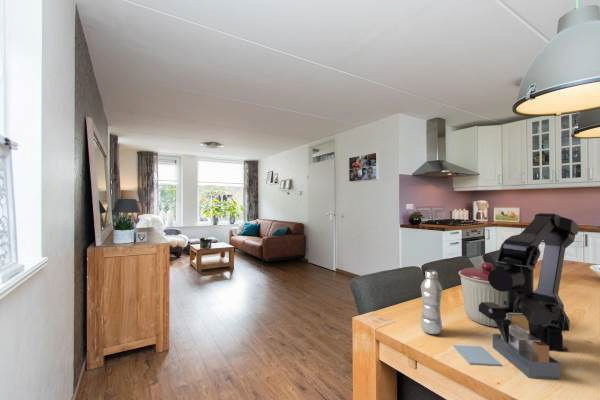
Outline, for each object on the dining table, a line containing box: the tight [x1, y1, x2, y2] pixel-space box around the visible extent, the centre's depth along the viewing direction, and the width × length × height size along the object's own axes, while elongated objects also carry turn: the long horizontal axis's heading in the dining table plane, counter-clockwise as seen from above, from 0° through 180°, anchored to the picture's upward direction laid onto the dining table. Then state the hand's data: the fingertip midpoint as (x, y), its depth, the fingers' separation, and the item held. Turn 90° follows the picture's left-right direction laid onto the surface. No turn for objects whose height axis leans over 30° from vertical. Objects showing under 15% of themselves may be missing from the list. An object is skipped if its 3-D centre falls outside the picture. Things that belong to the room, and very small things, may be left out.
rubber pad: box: [452, 344, 502, 367], centre depth 76 cm, size 9×8×1 cm
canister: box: [458, 262, 513, 328], centre depth 98 cm, size 18×18×21 cm
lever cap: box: [501, 324, 541, 352], centre depth 74 cm, size 7×5×4 cm
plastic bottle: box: [420, 269, 443, 335], centre depth 89 cm, size 6×7×20 cm
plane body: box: [492, 333, 560, 380], centre depth 73 cm, size 14×7×8 cm, turn 175°
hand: (520, 343), depth 74 cm, fingers open, 7 cm apart
